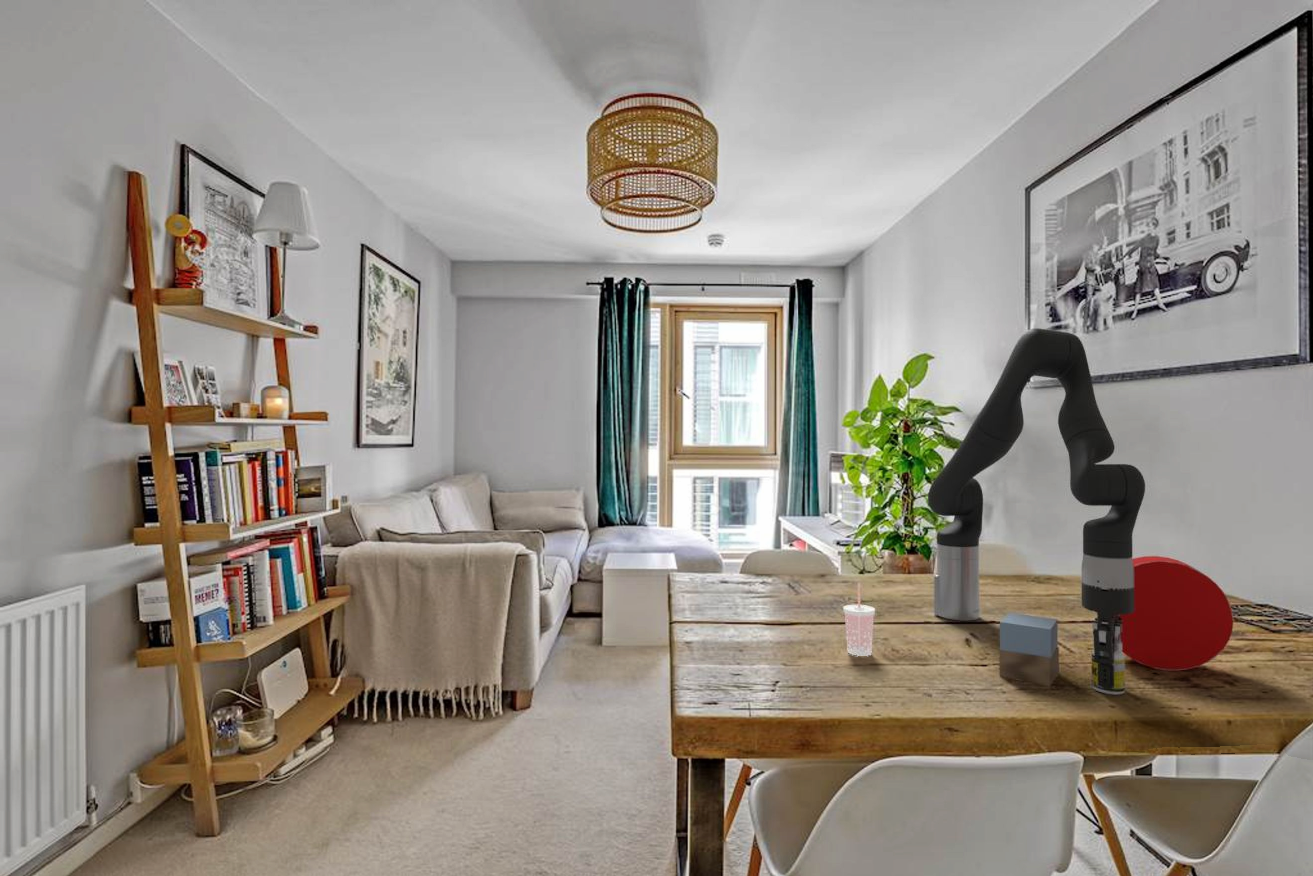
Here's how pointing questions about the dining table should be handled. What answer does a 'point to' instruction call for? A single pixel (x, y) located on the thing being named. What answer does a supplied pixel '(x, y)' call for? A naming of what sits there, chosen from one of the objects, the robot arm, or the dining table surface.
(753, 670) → the dining table surface
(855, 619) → the beverage cup
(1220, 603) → the red disc
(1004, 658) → the tower base block
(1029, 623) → the tower top block
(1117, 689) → the supplement bottle
